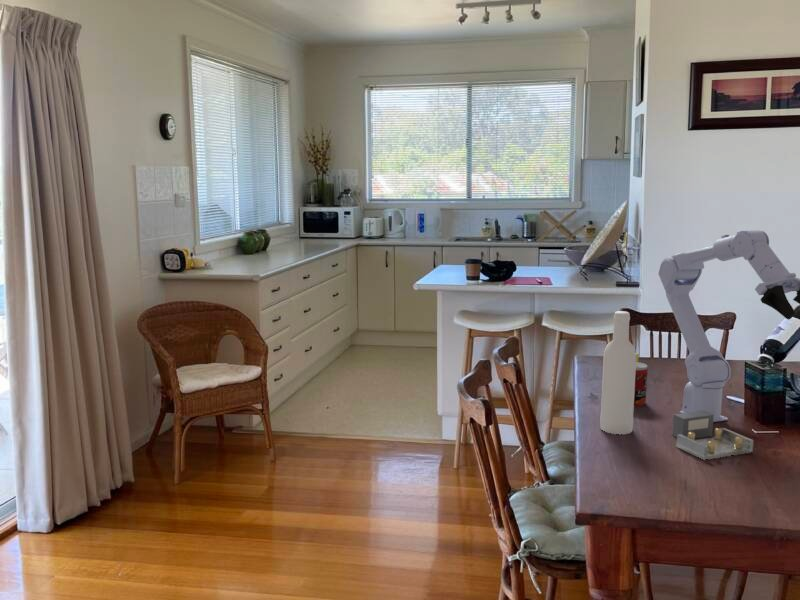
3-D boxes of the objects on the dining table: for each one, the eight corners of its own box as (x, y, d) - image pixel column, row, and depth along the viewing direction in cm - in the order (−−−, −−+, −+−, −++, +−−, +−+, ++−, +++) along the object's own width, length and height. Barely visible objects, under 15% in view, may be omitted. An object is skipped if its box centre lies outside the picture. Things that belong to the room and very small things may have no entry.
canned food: (640, 408, 207) (642, 369, 206) (612, 403, 212) (613, 365, 210) (649, 401, 213) (651, 363, 212) (622, 396, 218) (624, 359, 216)
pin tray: (676, 446, 178) (677, 432, 178) (723, 439, 183) (724, 425, 182) (703, 460, 170) (704, 445, 169) (752, 452, 175) (753, 438, 174)
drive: (672, 436, 186) (673, 414, 185) (701, 431, 189) (703, 410, 188) (682, 440, 183) (683, 418, 182) (712, 436, 186) (713, 414, 185)
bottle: (612, 436, 185) (618, 316, 180) (593, 426, 192) (598, 310, 187) (639, 432, 188) (646, 313, 183) (619, 423, 195) (625, 308, 190)
